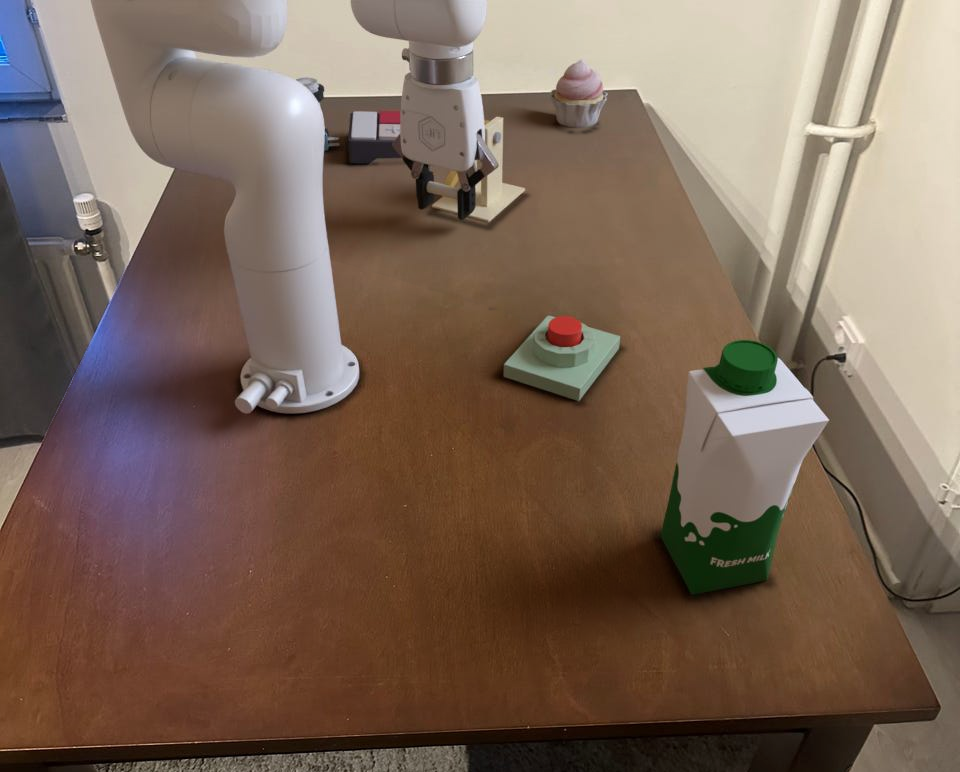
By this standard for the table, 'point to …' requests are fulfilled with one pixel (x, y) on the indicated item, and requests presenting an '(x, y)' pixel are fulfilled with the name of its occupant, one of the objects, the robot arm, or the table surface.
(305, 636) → the table surface
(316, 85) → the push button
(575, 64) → the cupcake
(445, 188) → the switch lever
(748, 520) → the milk carton
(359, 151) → the calculator
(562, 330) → the red button
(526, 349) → the switch box
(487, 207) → the switch bracket
